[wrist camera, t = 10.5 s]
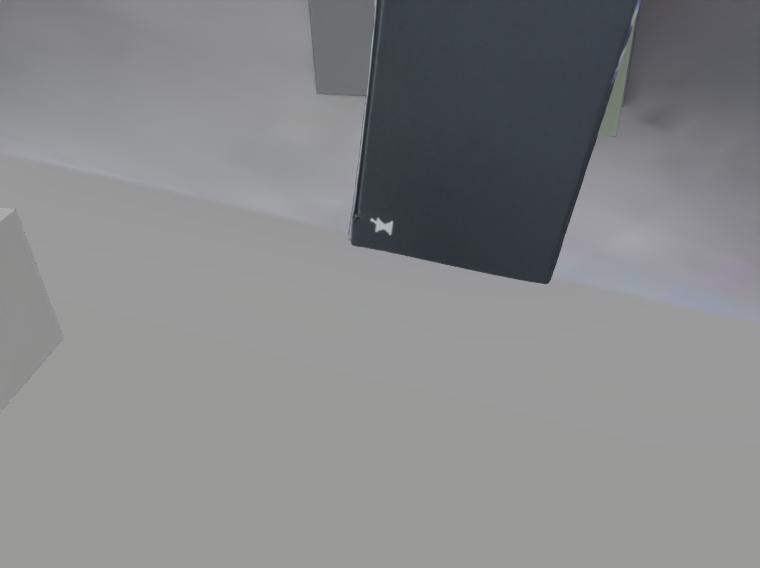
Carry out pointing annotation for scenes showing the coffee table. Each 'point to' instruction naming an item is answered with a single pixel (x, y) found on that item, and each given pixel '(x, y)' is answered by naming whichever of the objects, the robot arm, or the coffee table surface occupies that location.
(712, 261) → the coffee table surface
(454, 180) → the box
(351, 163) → the coffee table surface
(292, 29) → the coffee table surface
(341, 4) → the felt mat
